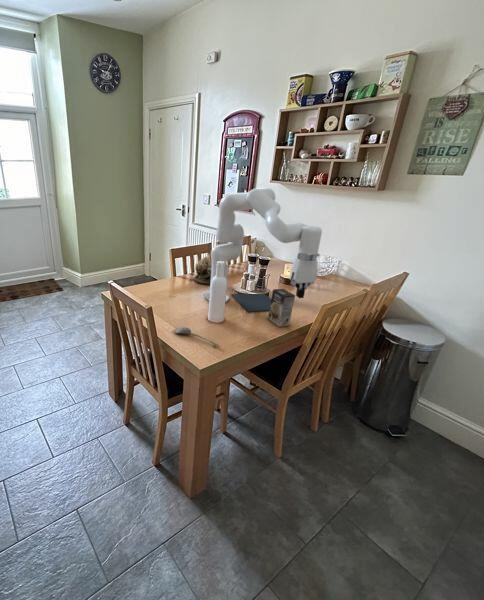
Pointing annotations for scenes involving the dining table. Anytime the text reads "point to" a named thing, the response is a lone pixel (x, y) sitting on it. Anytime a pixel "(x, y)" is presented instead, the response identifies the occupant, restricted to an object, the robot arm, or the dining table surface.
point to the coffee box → (281, 307)
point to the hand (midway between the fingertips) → (299, 296)
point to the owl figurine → (203, 271)
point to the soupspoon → (188, 331)
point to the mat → (253, 302)
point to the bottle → (217, 295)
